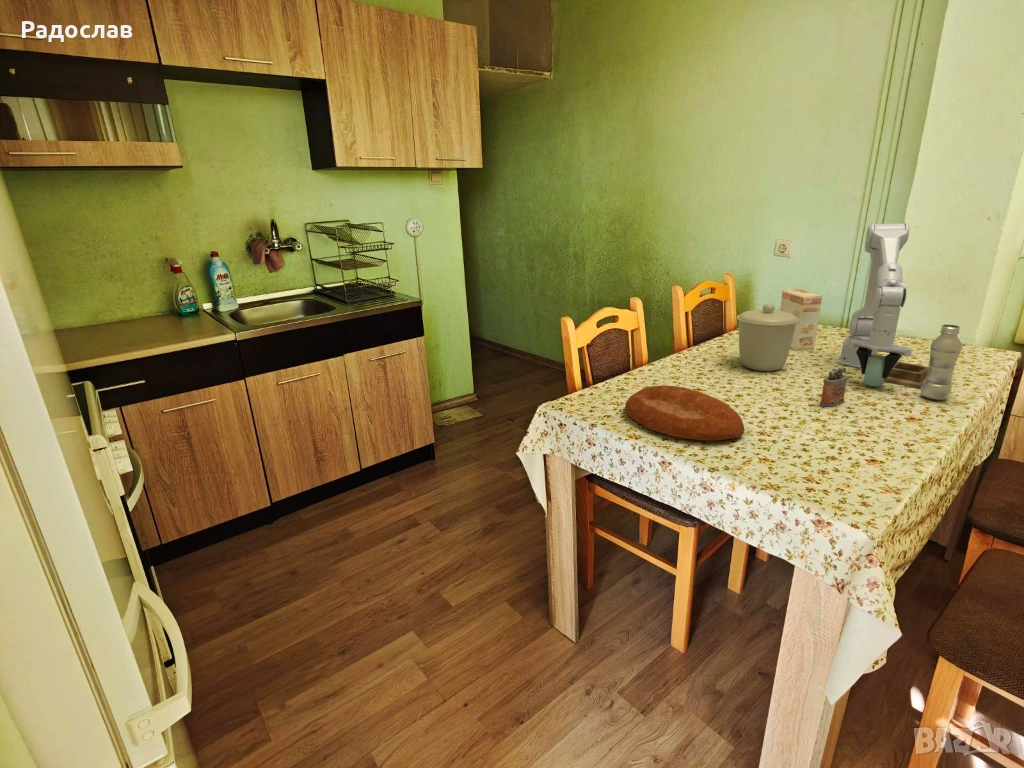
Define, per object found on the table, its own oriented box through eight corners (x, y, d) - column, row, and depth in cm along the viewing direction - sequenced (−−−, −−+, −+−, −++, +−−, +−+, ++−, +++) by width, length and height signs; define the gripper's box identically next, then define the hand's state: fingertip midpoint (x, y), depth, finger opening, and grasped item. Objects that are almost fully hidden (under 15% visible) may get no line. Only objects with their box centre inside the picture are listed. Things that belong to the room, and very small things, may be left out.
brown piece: (870, 378, 157) (872, 367, 156) (889, 368, 165) (891, 357, 164) (926, 390, 147) (929, 378, 145) (943, 378, 154) (946, 367, 153)
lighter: (828, 409, 138) (834, 373, 135) (816, 405, 141) (821, 369, 137) (847, 402, 141) (853, 367, 138) (834, 398, 144) (840, 364, 141)
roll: (860, 383, 151) (865, 356, 149) (867, 379, 154) (872, 353, 151) (878, 387, 148) (884, 360, 145) (885, 383, 150) (891, 356, 148)
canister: (731, 373, 168) (738, 308, 161) (732, 357, 184) (738, 297, 177) (794, 377, 161) (804, 310, 154) (789, 360, 177) (798, 298, 170)
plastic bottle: (942, 394, 143) (960, 323, 136) (953, 403, 137) (972, 329, 130) (914, 393, 145) (930, 322, 138) (923, 401, 139) (941, 328, 132)
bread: (653, 396, 153) (654, 367, 150) (762, 426, 130) (766, 393, 127) (604, 419, 139) (604, 387, 136) (716, 457, 117) (720, 421, 114)
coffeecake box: (814, 350, 187) (823, 295, 180) (794, 350, 187) (802, 296, 181) (794, 339, 201) (801, 288, 194) (775, 340, 201) (781, 289, 195)
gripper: (848, 327, 149) (840, 372, 153) (908, 336, 138) (898, 385, 142) (859, 323, 153) (851, 367, 157) (918, 331, 142) (908, 378, 146)
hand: (874, 375), depth 150 cm, fingers closed on roll, 5 cm apart
